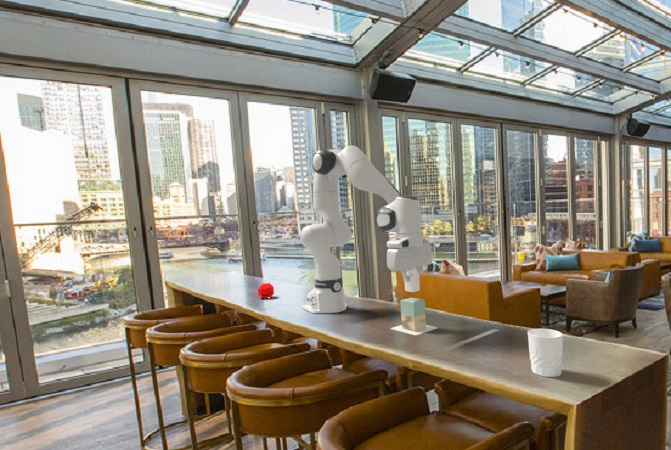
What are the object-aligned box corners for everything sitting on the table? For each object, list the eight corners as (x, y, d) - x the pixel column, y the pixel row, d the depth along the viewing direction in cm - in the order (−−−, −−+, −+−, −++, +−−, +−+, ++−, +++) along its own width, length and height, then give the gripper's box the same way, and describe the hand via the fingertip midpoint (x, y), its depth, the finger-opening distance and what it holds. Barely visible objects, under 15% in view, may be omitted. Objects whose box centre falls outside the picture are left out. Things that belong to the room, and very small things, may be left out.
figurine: (411, 313, 169) (410, 284, 168) (404, 316, 164) (402, 286, 164) (395, 310, 174) (393, 283, 174) (387, 313, 170) (385, 285, 169)
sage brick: (401, 314, 144) (400, 300, 144) (412, 311, 148) (411, 297, 147) (413, 317, 139) (413, 302, 139) (425, 313, 143) (424, 299, 143)
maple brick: (401, 328, 144) (401, 314, 144) (413, 324, 148) (412, 311, 147) (414, 331, 139) (414, 317, 139) (426, 327, 143) (425, 313, 143)
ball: (258, 300, 213) (257, 285, 213) (259, 297, 221) (258, 283, 221) (273, 299, 213) (272, 284, 213) (274, 296, 221) (273, 282, 221)
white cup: (555, 365, 106) (553, 328, 106) (570, 378, 98) (568, 337, 98) (524, 366, 107) (522, 328, 106) (536, 378, 99) (535, 338, 99)
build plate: (389, 331, 144) (389, 328, 144) (412, 324, 152) (412, 321, 152) (415, 338, 135) (415, 335, 135) (438, 330, 142) (438, 327, 142)
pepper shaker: (413, 292, 140) (412, 265, 140) (404, 291, 143) (403, 264, 143) (420, 290, 143) (419, 263, 143) (411, 289, 146) (409, 263, 146)
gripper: (422, 238, 152) (423, 275, 152) (383, 243, 139) (384, 283, 139) (435, 238, 147) (437, 276, 147) (396, 243, 134) (398, 285, 134)
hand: (411, 280), depth 143 cm, fingers closed on pepper shaker, 4 cm apart
